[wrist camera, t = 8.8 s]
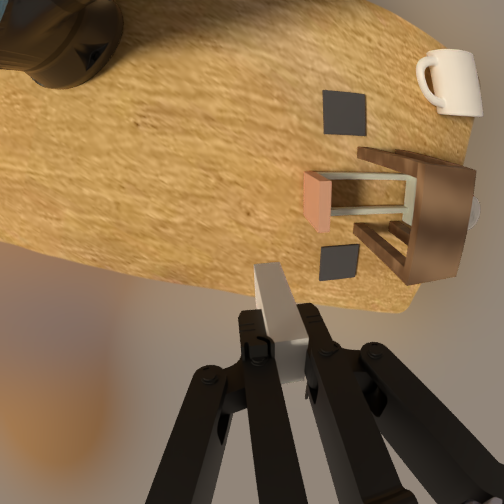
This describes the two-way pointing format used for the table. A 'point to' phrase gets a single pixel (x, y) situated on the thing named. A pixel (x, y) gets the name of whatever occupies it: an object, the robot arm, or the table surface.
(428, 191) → the brown tall open frame
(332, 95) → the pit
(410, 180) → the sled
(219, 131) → the table surface
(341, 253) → the dark grey flat tile
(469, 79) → the mug
